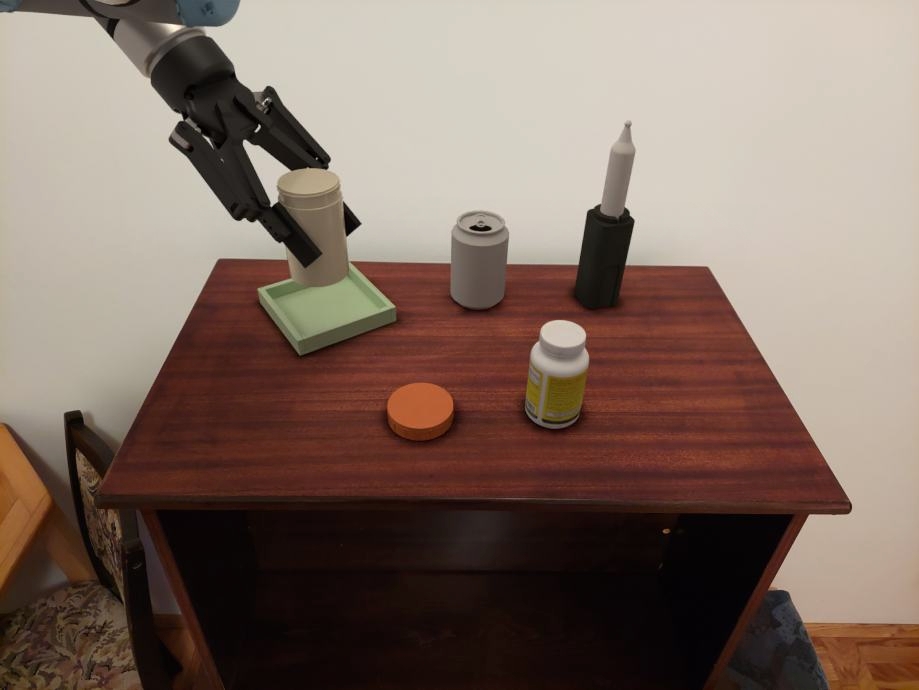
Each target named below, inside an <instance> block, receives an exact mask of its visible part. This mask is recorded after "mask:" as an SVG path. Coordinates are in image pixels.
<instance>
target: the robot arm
mask: <svg viewBox="0 0 919 690" xmlns="http://www.w3.org/2000/svg"><path fill="white" fill-rule="evenodd" d="M240 4H241V0H0V13H1V14H2V13H7V14H8V13H9V14H12V13H13V14H14V13H15V12H19V13H20V12H21V13H35V14H47V15H48V14H49V15H59V16H69V17H70V16H72V17H83V18H84V17H85V18H92V19H94V20H95V21H96V22H97V23H98V25H100V27H101V28H102V29H103V30H104V31H105V32H106V34H107V35H109V37H110V38H111V40H113V42H114V43H115V44H116V45H117V46H118V48H119V49H120V50H121V51H122V53H123V54H124V55H125V56H126V57H127V58H128V59H129V61H130V62H131V63H132V65H133V66H134V67H135V68H136V69H137V70H138V71H139V73H140V74H141V75H142V76H143V77H145V78H146V79H150V85H151V88H153V89H154V91H155V92H156V93H157V94H158V95H159V96H160V98H161V99H162V100H163V101H164V102H165V104H166V105H167V106H168V107H169V108H170V110H171V111H172V112H174V113H175V114H177V115H181V117H182V120H179V121H178V122H177V123H176V125H175V127H174V128H173V130H172V131H171V132H170V135H169V136H168V139H167V140H168V143H169V144H170V145H171V146H173V147H174V148H175V149H176V150H177V151H179V152H180V153H181V154H182V155H184V156H185V157H186V158H187V159H188V161H189V162H190V163H191V165H192V166H193V167H194V169H195V170H196V171H197V173H198V174H199V175H200V177H201V178H202V180H203V181H204V182H205V183H206V184H207V186H208V188H209V189H210V190H211V192H212V193H213V194H214V196H215V197H216V198H217V199H218V201H219V202H220V203H221V205H222V206H223V207H224V208H225V210H226V211H227V213H228V214H229V215H230V216H231V218H232V219H233V220H234V221H236V222H241V221H243V220H244V219H246V221H248V222H249V223H251V224H254V223H256V222H257V221H258V222H259V224H261V226H262V227H263V228H264V230H265V231H266V232H267V233H268V234H269V236H271V238H272V239H273V240H274V241H275V242H277V243H278V244H282V243H283V245H284V247H285V246H286V247H287V248H288V249H289V250H290V252H291V253H292V254H293V255H294V256H295V257H296V259H297V260H298V261H299V262H300V263H301V265H302V266H303V267H304V268H307V267H308V266H309V265H310V264H312V263H313V262H314V261H315V260H316V259H317V258H318V257H320V256H321V255H322V254H323V253H322V252H321V251H320V250H319V248H318V247H317V246H316V245H315V244H314V242H313V241H312V240H311V239H310V238H309V236H308V235H307V234H306V233H305V232H304V230H303V229H302V228H301V227H300V226H299V224H298V223H297V222H296V221H295V220H294V219H293V217H292V216H291V215H290V214H289V212H288V211H287V210H286V209H285V208H284V207H283V205H282V204H281V203H280V202H279V201H278V200H277V202H275V203H273V205H272V202H271V200H270V197H269V196H268V193H267V192H266V189H265V188H264V185H263V183H262V180H261V179H260V177H259V175H258V173H257V171H256V169H255V166H254V164H253V163H252V160H251V158H250V157H249V155H248V152H247V150H246V148H245V146H244V141H247V142H248V143H249V144H250V145H252V146H255V147H256V146H257V147H260V148H261V149H262V150H264V151H265V152H266V153H268V155H270V156H271V157H273V159H275V160H276V161H278V162H279V163H280V164H281V165H283V166H284V167H285V168H286V169H288V170H289V171H290V172H291V171H294V170H299V169H307V168H316V169H324V170H328V171H329V168H330V163H331V162H332V158H331V156H330V155H329V153H327V151H326V150H325V149H324V148H323V147H322V146H321V144H319V142H318V141H317V140H316V139H315V138H314V137H313V135H312V134H311V133H309V131H308V130H307V129H306V128H305V127H304V126H303V125H302V123H301V122H300V121H299V120H298V118H296V117H295V115H294V114H293V113H292V112H291V111H290V110H289V109H288V108H287V107H286V105H285V104H284V103H283V102H282V99H281V97H280V95H278V92H277V90H276V89H275V87H273V86H271V85H266V86H265V87H264V89H263V90H261V91H252V90H251V89H250V88H249V87H248V86H246V85H244V84H243V83H242V82H241V81H240V80H239V79H238V77H237V74H236V68H235V65H234V63H233V61H231V59H230V58H229V57H228V56H227V54H226V53H225V52H224V51H223V49H222V48H221V47H220V46H219V44H218V43H217V42H216V41H215V40H214V38H212V37H211V36H207V30H206V28H205V27H207V28H218V27H223V26H225V25H226V24H228V23H230V22H231V21H232V20H233V19H234V17H235V16H236V14H237V12H238V10H239V7H240ZM208 140H209V141H208ZM342 198H343V199H344V196H343V195H342ZM343 208H344V219H345V229H346V238H347V237H349V236H350V235H352V234H353V232H355V231H356V230H357V229H359V227H360V226H362V225H363V223H362V222H361V221H360V219H359V218H358V216H357V215H356V214H355V213H354V212H353V211H352V209H351V208H350V207H349V206H348V205H347V203H346V202H345V200H343Z"/></svg>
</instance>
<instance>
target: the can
mask: <svg viewBox="0 0 919 690" xmlns="http://www.w3.org/2000/svg"><path fill="white" fill-rule="evenodd" d="M450 232H451V233H450V234H451V236H450V239H451V240H450V242H451V243H450V244H451V245H450V287H449V288H450V292H449V293H450V296H451V298H452V299H453V300H454V301H455V302H457V303H458V304H459V305H460V306H462V307H464V308H466V309H469V310H475V311H476V310H477V311H478V310H479V311H481V310H487V309H490V308H493V307H494V306H496V305H498V303H500V302H501V301H502V300H503V299H504V296H505V291H506V290H505V289H506V277H507V267H508V253H509V241H510V231H509V228H508V227H507V226H506V221H505V219H504V217H502V216H501V215H500V214H498V213H496V212H492V211H488V210H482V209H481V210H480V209H479V210H470V211H466V212H463V213H462V214H460V215H459V216H458V217H457V219H456V223H455V224H454V225H453V226H452V229H451V231H450Z"/></svg>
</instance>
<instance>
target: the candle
mask: <svg viewBox="0 0 919 690" xmlns="http://www.w3.org/2000/svg"><path fill="white" fill-rule="evenodd" d="M623 124H624V127H623V129H622V131H621V133H620V134H619V137H618V139H617V140H616V141H615V142H614V143H613V144H612V145H611V147H610V151H609V157H608V163H607V169H606V175H605V181H604V186H603V192H602V197H601V203H599V204H596V205H594V206H593V208H590V209H588V210H587V211H586V217H585V223H584V228H583V234H582V241H581V246H580V253H579V260H578V266H577V273H576V277H575V284H574V290H573V295H574V297H575V298H576V299H577V300H578V301H579V303H580V304H581V305H582V306H583V308H585V309H586V310H591V311H596V310H597V309H602V308H607V307H611V308H612V307H615V306H617V305H618V301H619V299H620V298H619V297H620V294H621V293H620V292H621V287H622V284H623V279H624V274H625V269H626V265H627V260H628V256H629V250H630V246H631V241H632V237H633V232H634V227H635V223H636V220H635V218H634V217H633V216H631V212H630V210H629V209H628V208H627V207H626V201H627V197H628V192H629V187H630V181H631V176H632V172H633V166H634V162H635V158H636V157H635V156H636V153H637V152H636V151H637V150H636V146H635V145H634V144H635V143H634V142H633V139H632V129H631V127H632V125H633V123H632V121H631V120H630V119H626V120H625V121H624V123H623Z"/></svg>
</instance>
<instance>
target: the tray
mask: <svg viewBox="0 0 919 690" xmlns="http://www.w3.org/2000/svg"><path fill="white" fill-rule="evenodd" d="M257 293H258V299H259V303H260V305H261V306H262V308H264V310H265V311H266V313H267V314H268V315H269V316H270V318H271V319H272V320H273V322H274V324H276V326H277V327H278V329H279V330H280V331H281V332H282V334H283V335H284V336H285V338H286V339H287V340H288V342H289V343H290V345H291V346H292V347H293V348H294V350H295V351H296V352H297V354H298V355H299V356H303V355H307V354H309V353H312V352H314V351H317V350H320V349H322V348H325V347H328V346H331V345H334V344H337V343H339V342H342V341H345V340H348V339H350V338H353V337H356V336H359V335H361V334H364V333H367V332H370V331H373V330H375V329H379V328H381V327H383V326H386V325H389V324H392V323H395V322H397V307H396V305H395V304H394V303H392V302H391V300H390V299H389V298H388V297H387V296H385V294H384V293H383V292H382V291H380V290H379V289H378V288H377V287H376V286H375V285H374V284H373V283H372V282H371V281H370V280H369V279H368V278H367V277H366V276H365V275H364V274H363V273H362V272H361V271H360V270H359V269H358V268H357V267H356V266H355V265H354V264H352V262H351V261H349V273H348V275H347V276H346V277H345V278H344V279H343V280H342V281H340V282H338V283H336V284H333V285H329V286H325V287H308V286H303V285H300V284H298V283H296V282H295V281H293V280H292V278H291V277H290V278H287V279H284V280H281V281H278V282H275V283H272V284H268V285H264V286H262V287H259V288H257Z"/></svg>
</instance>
